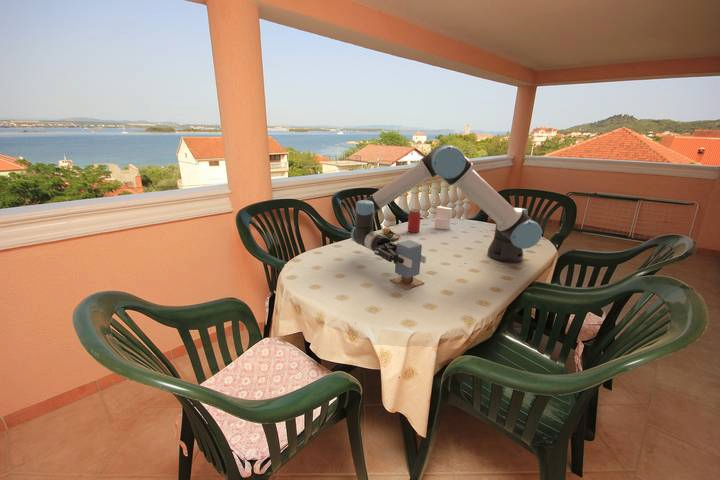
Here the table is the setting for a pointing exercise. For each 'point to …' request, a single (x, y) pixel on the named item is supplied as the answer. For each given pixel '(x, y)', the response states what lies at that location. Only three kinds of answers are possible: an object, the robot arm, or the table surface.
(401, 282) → the post
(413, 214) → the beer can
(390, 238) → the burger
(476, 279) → the table surface
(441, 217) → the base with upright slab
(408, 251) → the notched grey prism
